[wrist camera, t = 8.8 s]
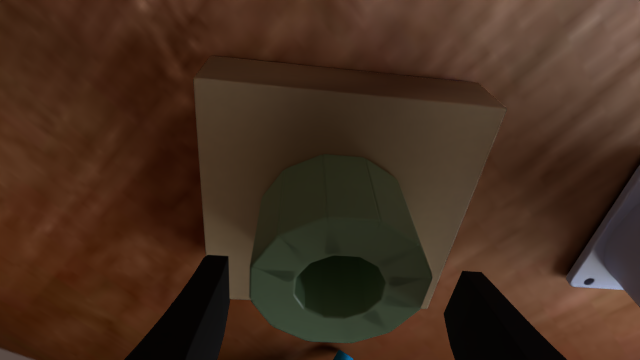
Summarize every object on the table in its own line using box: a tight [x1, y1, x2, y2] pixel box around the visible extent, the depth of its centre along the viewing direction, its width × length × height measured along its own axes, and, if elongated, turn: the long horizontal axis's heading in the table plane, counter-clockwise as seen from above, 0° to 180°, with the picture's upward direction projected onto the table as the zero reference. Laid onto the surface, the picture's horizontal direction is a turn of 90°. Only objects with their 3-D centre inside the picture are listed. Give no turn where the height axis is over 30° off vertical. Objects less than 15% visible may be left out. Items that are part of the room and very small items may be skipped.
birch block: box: [193, 56, 507, 309], centre depth 16 cm, size 10×10×2 cm
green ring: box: [249, 154, 433, 343], centre depth 13 cm, size 6×6×4 cm
